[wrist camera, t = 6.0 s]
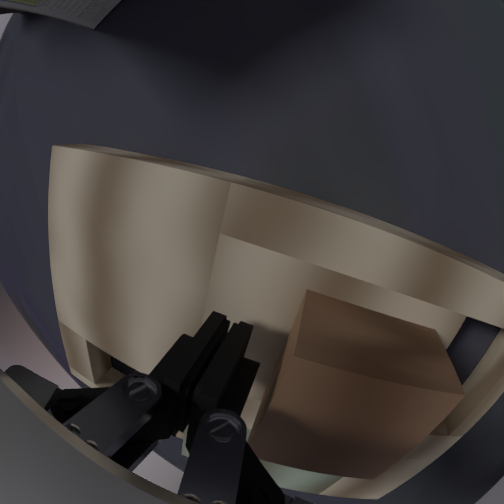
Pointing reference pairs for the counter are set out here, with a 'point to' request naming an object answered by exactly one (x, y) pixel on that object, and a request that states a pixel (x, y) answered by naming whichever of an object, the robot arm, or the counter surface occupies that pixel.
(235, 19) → the counter surface
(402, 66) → the counter surface
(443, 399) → the walnut block
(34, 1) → the light bulb box
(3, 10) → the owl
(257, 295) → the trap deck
